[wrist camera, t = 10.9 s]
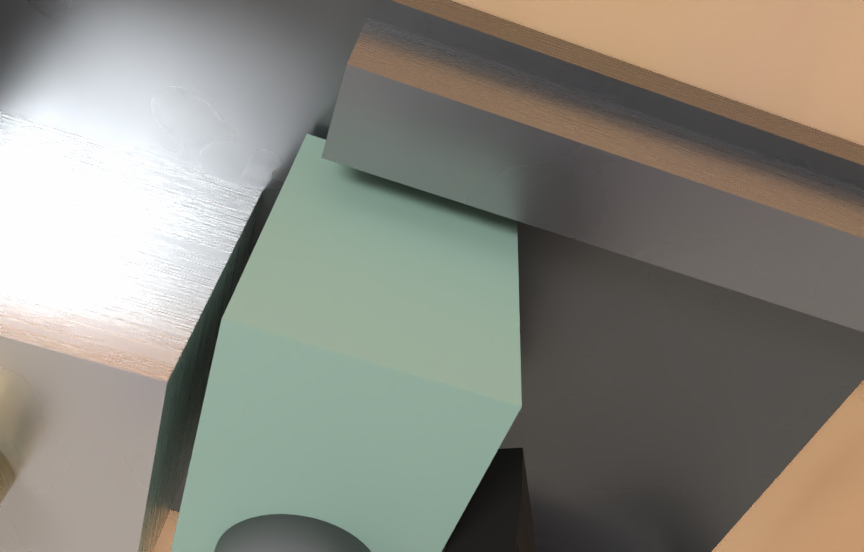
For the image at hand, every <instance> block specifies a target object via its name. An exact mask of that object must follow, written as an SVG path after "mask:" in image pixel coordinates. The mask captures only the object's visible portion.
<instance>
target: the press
mask: <svg viewBox="0 0 864 552" xmlns="http://www.w3.org/2000/svg"><path fill="white" fill-rule="evenodd" d="M0 111H2V112H5V113H9V114H12V115H15V116H18V117H21V118H25V119H28V120H31V121H34V122H38V123H41V124H44V125H47V126H50V127H54V128H57V129H60V130H63V131H67V132H70V133H73V134H76V135H80V136H83V137H86V138H89V139H92V140H96V141H99V142H102V143H105V144H109V145H112V146H115V147H118V148H121V149H125V150H128V151H131V152H134V153H138V154H141V155H144V156H147V157H150V158H154V159H157V160H160V161H163V162H167V163H170V164H173V165H176V166H180V167H183V168H186V169H189V170H192V171H196V172H199V173H202V174H205V175H209V176H212V177H215V178H218V179H221V180H225V181H228V182H231V183H234V184H238V185H241V186H244V187H247V188H250V189H254V190H257V191H260V192H262V193H261V198H260V202H259V207H258V211H257V216H256V220H255V224H254V229H253V233H252V238H251V242H250V247H249V251H248V256H247V260H246V264H245V267H246V265H247V263H248V260H249V258H250V256H251V254H252V252H253V250H254V247H255V245H256V243H257V241H258V239H259V236H260V234H261V232H262V230H263V228H264V226H265V223H266V221H267V219H268V217H269V215H270V213H271V210H272V208H273V206H274V204H275V202H276V200H277V197H278V195H279V193H280V191H281V189H282V187H283V184H284V182H285V180H286V178H287V176H288V173H289V171H290V169H291V167H292V165H293V163H294V160H295V158H296V156H297V154H298V152H299V150H300V147H301V145H302V143H303V141H304V139H305V137H306V134H309V135H312V136H316V137H319V138H322V139H325V140H326V142H325V146H324V150H323V153H322V157H321V158H323V159H326V160H329V161H332V162H335V163H338V164H342V165H345V166H348V167H351V168H354V169H357V170H360V171H363V172H367V173H370V174H373V175H376V176H379V177H382V178H385V179H388V180H391V181H395V182H398V183H401V184H404V185H407V186H410V187H413V188H416V189H419V190H423V191H426V192H429V193H432V194H435V195H438V196H441V197H444V198H447V199H451V200H454V201H457V202H460V203H463V204H466V205H469V206H472V207H476V208H479V209H482V210H485V211H488V212H491V213H494V214H497V215H500V216H504V217H507V218H510V219H513V220H516V221H517V232H518V273H519V313H520V353H521V394H522V407H521V409H520V411H519V412H518V414H517V416H516V418H515V420H514V421H513V423H512V425H511V427H510V429H509V431H508V432H507V434H506V436H505V438H504V440H503V441H502V443H501V445H500V447H499V449H504V448H523V453H524V460H525V468H526V475H527V483H528V490H529V498H530V505H531V513H532V520H533V528H534V535H535V548H536V552H711V551H712V550H713V549H714V548H715V547H716V546H717V544H718V543H719V542H720V541H721V540H722V539H723V538H724V536H725V535H726V534H727V533H728V532H729V531H730V530H731V529H732V527H733V526H734V525H735V524H736V523H737V522H738V521H739V520H740V518H741V517H742V516H743V515H744V514H745V513H746V512H747V511H748V509H749V508H750V507H751V506H752V505H753V504H754V503H755V501H756V500H757V499H758V498H759V497H760V496H761V495H762V494H763V492H764V491H765V490H766V489H767V488H768V487H769V486H770V485H771V483H772V482H773V481H774V480H775V479H776V478H777V477H778V476H779V474H780V473H781V472H782V471H783V470H784V469H785V468H786V466H787V465H788V464H789V463H790V462H791V461H792V460H793V459H794V457H795V456H796V455H797V454H798V453H799V452H800V451H801V450H802V448H803V447H804V446H805V445H806V444H807V443H808V442H809V440H810V439H811V438H812V437H813V436H814V435H815V434H816V433H817V431H818V430H819V429H820V428H821V427H822V426H823V425H824V424H825V422H826V421H827V420H828V419H829V418H830V417H831V416H832V415H833V413H834V412H835V411H836V410H837V409H838V408H839V407H840V405H841V404H842V403H843V402H844V401H845V400H846V399H847V398H848V396H849V395H850V394H851V393H852V392H853V391H854V390H855V389H856V387H857V386H858V385H859V384H860V383H861V382H862V381H863V380H864V146H861V145H858V144H856V143H853V142H850V141H847V140H844V139H841V138H839V137H836V136H833V135H830V134H827V133H824V132H822V131H819V130H816V129H813V128H810V127H807V126H805V125H802V124H799V123H796V122H793V121H790V120H788V119H785V118H782V117H779V116H776V115H773V114H771V113H768V112H765V111H762V110H759V109H756V108H754V107H751V106H748V105H745V104H742V103H739V102H737V101H734V100H731V99H728V98H725V97H722V96H720V95H717V94H714V93H711V92H708V91H705V90H703V89H700V88H697V87H694V86H691V85H688V84H686V83H683V82H680V81H677V80H674V79H671V78H669V77H666V76H663V75H660V74H657V73H654V72H652V71H649V70H646V69H643V68H640V67H637V66H635V65H632V64H629V63H626V62H623V61H620V60H618V59H615V58H612V57H609V56H606V55H603V54H601V53H598V52H595V51H592V50H589V49H586V48H584V47H581V46H578V45H575V44H572V43H569V42H567V41H564V40H561V39H558V38H555V37H552V36H550V35H547V34H544V33H541V32H538V31H535V30H533V29H530V28H527V27H524V26H521V25H518V24H516V23H513V22H510V21H507V20H504V19H501V18H499V17H496V16H493V15H490V14H487V13H484V12H482V11H479V10H476V9H473V8H470V7H467V6H465V5H462V4H459V3H456V2H453V1H450V0H0ZM189 466H190V463H189V465H188V468H187V470H186V473H185V475H184V477H183V480H182V482H181V485H180V487H179V489H178V492H177V494H176V497H175V499H174V501H173V504H172V506H171V509H170V510H174V511H178V512H180V507H181V502H182V498H183V493H184V489H185V484H186V479H187V475H188V470H189ZM444 551H445V546H444V548H443V550H442V552H444Z"/></svg>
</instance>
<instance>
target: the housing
mask: <svg viewBox="0 0 864 552" xmlns="http://www.w3.org/2000/svg"><path fill="white" fill-rule="evenodd" d="M261 193H262V192H260V191H257V190H254V189H250V188H247V187H244V186H241V185H238V184H234V183H231V182H228V181H225V180H221V179H218V178H215V177H212V176H209V175H205V174H202V173H199V172H196V171H192V170H189V169H186V168H183V167H180V166H176V165H173V164H170V163H167V162H163V161H160V160H157V159H154V158H150V157H147V156H144V155H141V154H138V153H134V152H131V151H128V150H125V149H121V148H118V147H115V146H112V145H109V144H105V143H102V142H99V141H96V140H92V139H89V138H86V137H83V136H80V135H76V134H73V133H70V132H67V131H63V130H60V129H57V128H54V127H50V126H47V125H44V124H41V123H38V122H34V121H31V120H28V119H25V118H21V117H18V116H15V115H12V114H9V113H5V112H2V111H0V552H153V550H154V547H155V545H156V542H157V540H158V538H159V535H160V533H161V530H162V528H163V526H164V523H165V521H166V518H167V516H168V514H169V511H170V509H171V506H172V504H173V501H174V499H175V497H176V494H177V492H178V489H179V487H180V485H181V482H182V480H183V477H184V475H185V473H186V470H187V468H188V465H189V463H190V461H191V457H192V452H193V447H194V443H195V438H196V434H197V429H198V425H199V420H200V415H201V411H202V406H203V402H204V397H205V392H206V388H207V383H208V379H209V374H210V370H211V365H212V360H213V356H214V351H215V347H216V342H217V337H218V333H219V328H220V324H221V319H222V317H223V315H224V313H225V310H226V308H227V306H228V304H229V302H230V299H231V297H232V295H233V293H234V291H235V289H236V286H237V284H238V282H239V280H240V278H241V276H242V273H243V271H244V269H245V264H246V260H247V256H248V251H249V247H250V242H251V238H252V233H253V229H254V224H255V220H256V216H257V211H258V207H259V202H260V198H261Z"/></svg>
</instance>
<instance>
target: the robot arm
mask: <svg viewBox="0 0 864 552" xmlns="http://www.w3.org/2000/svg"><path fill="white" fill-rule="evenodd" d="M444 552H536V548H535V535H534V528H533V520H532V513H531V505H530V498H529V490H528V483H527V475H526V468H525V460H524V453H523V448H504V449H498V450H497V452H496V454H495V456H494V458H493V459H492V461H491V463H490V465H489V467H488V469H487V470H486V472H485V474H484V476H483V478H482V479H481V481H480V483H479V485H478V487H477V488H476V490H475V492H474V494H473V496H472V497H471V499H470V501H469V503H468V505H467V507H466V508H465V510H464V512H463V514H462V516H461V517H460V519H459V521H458V523H457V525H456V526H455V528H454V530H453V532H452V534H451V535H450V537H449V539H448V541H447V543H446V545H445V551H444Z"/></svg>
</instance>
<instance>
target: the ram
mask: <svg viewBox="0 0 864 552" xmlns="http://www.w3.org/2000/svg"><path fill="white" fill-rule="evenodd" d="M325 142H326V140H325V139H322V138H319V137H316V136H312V135H309V134H306V137H305V139H304V141H303V143H302V145H301V147H300V150H299V152H298V154H297V156H296V158H295V160H294V163H293V165H292V167H291V169H290V171H289V173H288V176H287V178H286V180H285V182H284V184H283V187H282V189H281V191H280V193H279V195H278V197H277V200H276V202H275V204H274V206H273V208H272V210H271V213H270V215H269V217H268V219H267V221H266V223H265V226H264V228H263V230H262V232H261V234H260V236H259V239H258V241H257V243H256V245H255V247H254V250H253V252H252V254H251V256H250V258H249V260H248V263H247V265H246V267H245V269H244V271H243V273H242V276H241V278H240V280H239V282H238V284H237V286H236V289H235V291H234V293H233V295H232V297H231V299H230V302H229V304H228V306H227V308H226V310H225V313H224V315H223V317H222V319H221V324H220V328H219V333H218V337H217V342H216V347H215V351H214V356H213V360H212V365H211V370H210V374H209V379H208V383H207V388H206V392H205V397H204V402H203V406H202V411H201V415H200V420H199V425H198V429H197V434H196V438H195V443H194V447H193V452H192V457H191V461H190V466H189V470H188V475H187V479H186V484H185V489H184V493H183V498H182V502H181V507H180V512H179V516H178V521H177V525H176V530H175V534H174V539H173V544H172V548H171V552H442V550H443V548H444V546H445V545H446V543H447V541H448V539H449V537H450V535H451V534H452V532H453V530H454V528H455V526H456V525H457V523H458V521H459V519H460V517H461V516H462V514H463V512H464V510H465V508H466V507H467V505H468V503H469V501H470V499H471V497H472V496H473V494H474V492H475V490H476V488H477V487H478V485H479V483H480V481H481V479H482V478H483V476H484V474H485V472H486V470H487V469H488V467H489V465H490V463H491V461H492V459H493V458H494V456H495V454H496V452H497V450H498V449H499V447H500V445H501V443H502V441H503V440H504V438H505V436H506V434H507V432H508V431H509V429H510V427H511V425H512V423H513V421H514V420H515V418H516V416H517V414H518V412H519V411H520V409H521V407H522V394H521V353H520V313H519V273H518V232H517V221H516V220H513V219H510V218H507V217H504V216H500V215H497V214H494V213H491V212H488V211H485V210H482V209H479V208H476V207H472V206H469V205H466V204H463V203H460V202H457V201H454V200H451V199H447V198H444V197H441V196H438V195H435V194H432V193H429V192H426V191H423V190H419V189H416V188H413V187H410V186H407V185H404V184H401V183H398V182H395V181H391V180H388V179H385V178H382V177H379V176H376V175H373V174H370V173H367V172H363V171H360V170H357V169H354V168H351V167H348V166H345V165H342V164H338V163H335V162H332V161H329V160H326V159H323V158H321V157H322V153H323V150H324V146H325Z"/></svg>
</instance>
